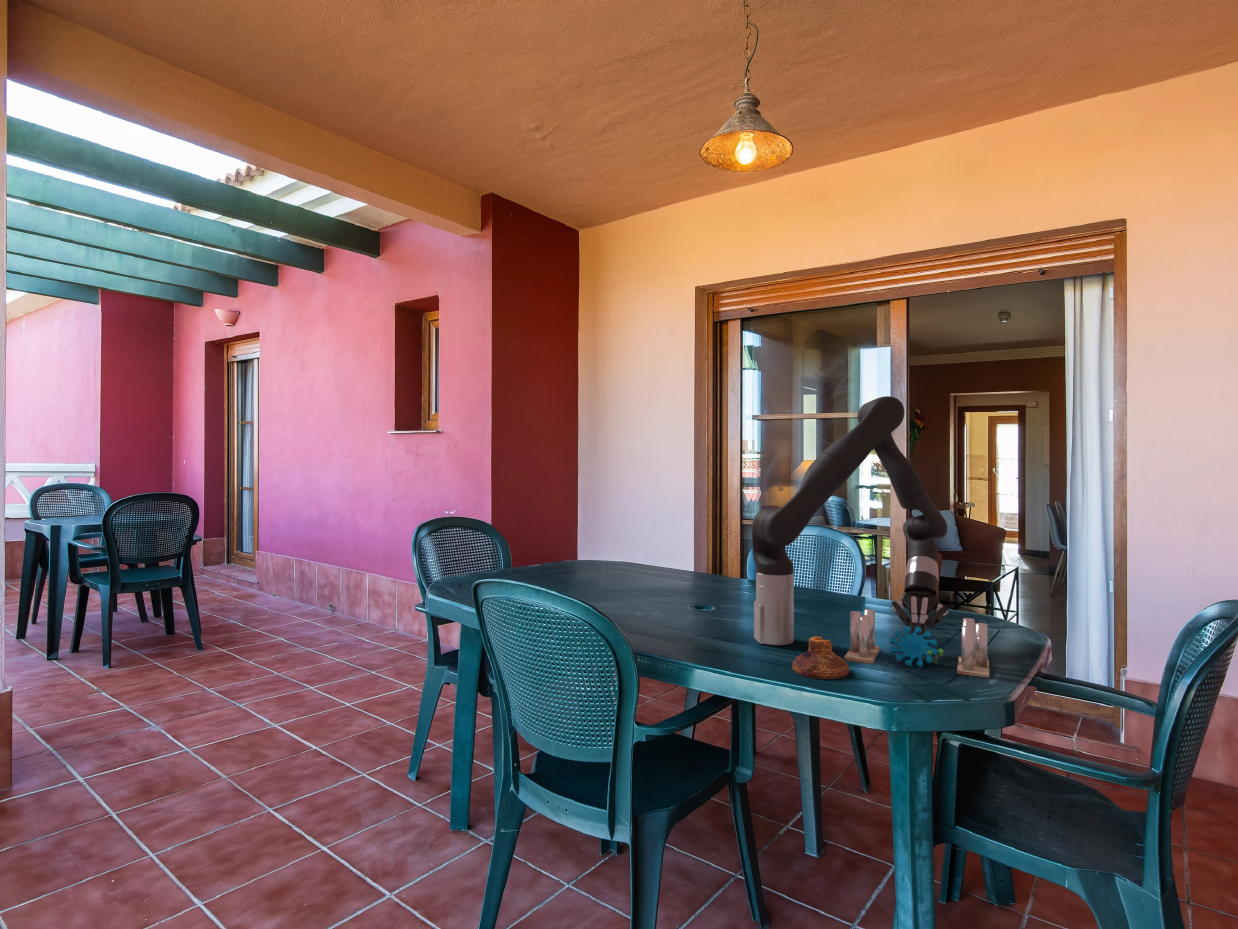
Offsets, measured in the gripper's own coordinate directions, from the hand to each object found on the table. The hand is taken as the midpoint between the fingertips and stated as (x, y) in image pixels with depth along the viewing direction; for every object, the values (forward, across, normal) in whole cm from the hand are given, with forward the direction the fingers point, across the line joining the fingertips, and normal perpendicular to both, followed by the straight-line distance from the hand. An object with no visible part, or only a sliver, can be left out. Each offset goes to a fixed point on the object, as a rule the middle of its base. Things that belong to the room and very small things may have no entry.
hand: (917, 640), depth 160 cm
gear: (+7, 0, -1) cm, 7 cm away
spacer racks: (+6, 0, 0) cm, 6 cm away
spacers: (+5, 0, -1) cm, 5 cm away
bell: (+18, -18, -12) cm, 28 cm away
